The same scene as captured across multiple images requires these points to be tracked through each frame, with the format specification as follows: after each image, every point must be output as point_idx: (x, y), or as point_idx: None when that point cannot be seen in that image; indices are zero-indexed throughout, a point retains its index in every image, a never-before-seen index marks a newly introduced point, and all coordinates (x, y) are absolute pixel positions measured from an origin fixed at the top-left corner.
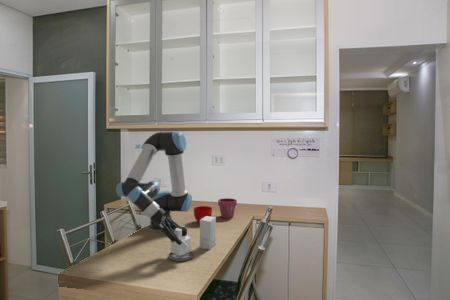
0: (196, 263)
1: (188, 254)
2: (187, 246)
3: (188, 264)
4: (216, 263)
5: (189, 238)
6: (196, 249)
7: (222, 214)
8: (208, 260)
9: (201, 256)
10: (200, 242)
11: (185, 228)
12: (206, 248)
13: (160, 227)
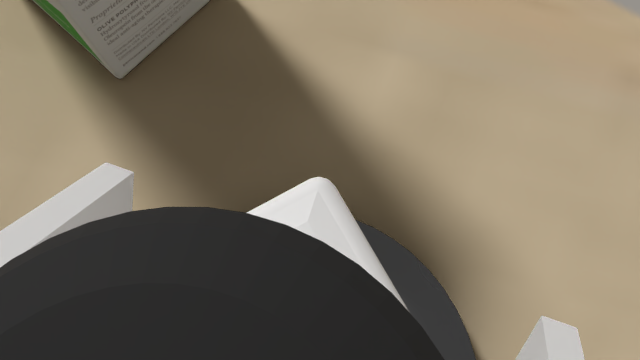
0: (568, 238)
1: None
2: (576, 338)
3: None
4: (626, 27)
5: (353, 217)
6: (138, 127)
7: None
8: (521, 83)
9: (379, 127)
10: (97, 29)
11: (253, 287)
12: (190, 11)
13: None
